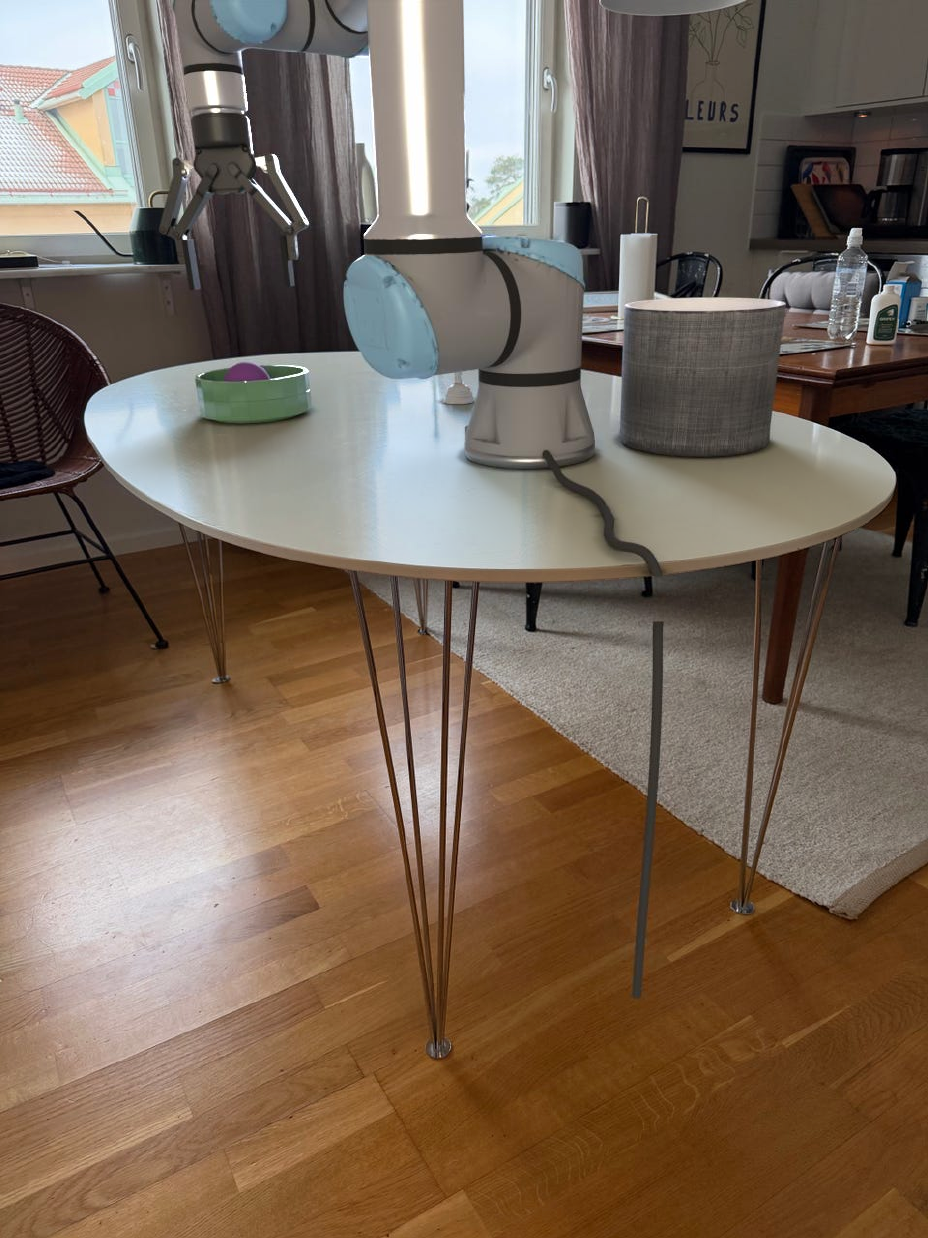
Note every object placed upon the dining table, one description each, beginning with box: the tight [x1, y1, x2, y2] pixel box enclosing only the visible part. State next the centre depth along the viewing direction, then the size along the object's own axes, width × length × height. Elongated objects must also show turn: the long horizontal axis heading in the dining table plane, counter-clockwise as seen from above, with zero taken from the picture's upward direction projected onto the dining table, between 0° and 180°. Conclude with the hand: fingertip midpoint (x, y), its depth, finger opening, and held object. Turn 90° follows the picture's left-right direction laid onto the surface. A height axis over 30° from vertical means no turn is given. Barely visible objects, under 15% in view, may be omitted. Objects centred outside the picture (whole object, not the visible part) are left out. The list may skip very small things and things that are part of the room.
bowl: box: [194, 364, 313, 424], centre depth 127 cm, size 16×16×6 cm
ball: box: [223, 361, 270, 382], centre depth 127 cm, size 7×7×7 cm
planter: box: [618, 297, 787, 458], centre depth 101 cm, size 18×18×16 cm
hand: (242, 288), depth 121 cm, fingers open, 13 cm apart
